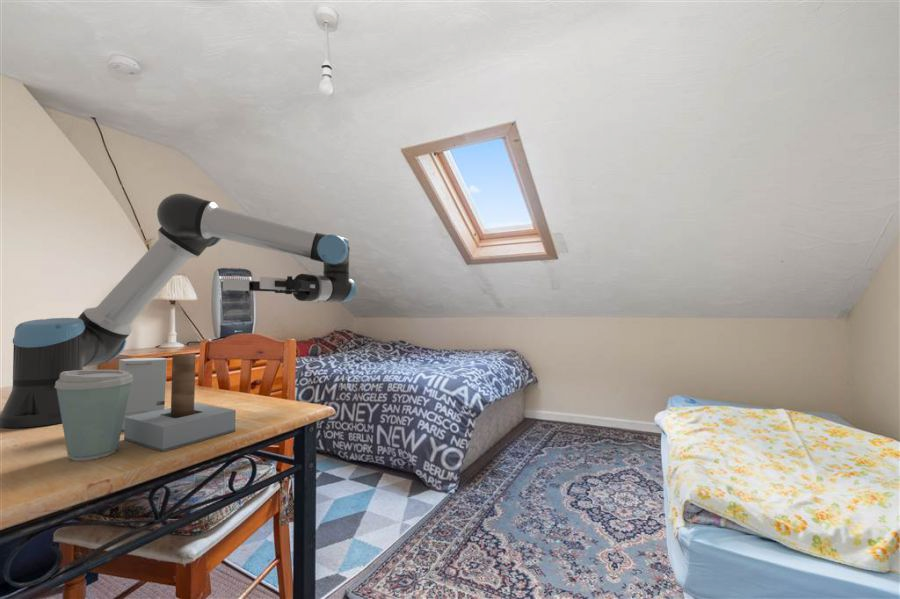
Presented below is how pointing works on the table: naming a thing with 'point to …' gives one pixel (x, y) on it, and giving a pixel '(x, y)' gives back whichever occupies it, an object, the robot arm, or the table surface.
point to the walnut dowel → (183, 385)
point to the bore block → (178, 427)
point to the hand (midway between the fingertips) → (241, 283)
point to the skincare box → (145, 385)
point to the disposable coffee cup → (92, 411)
